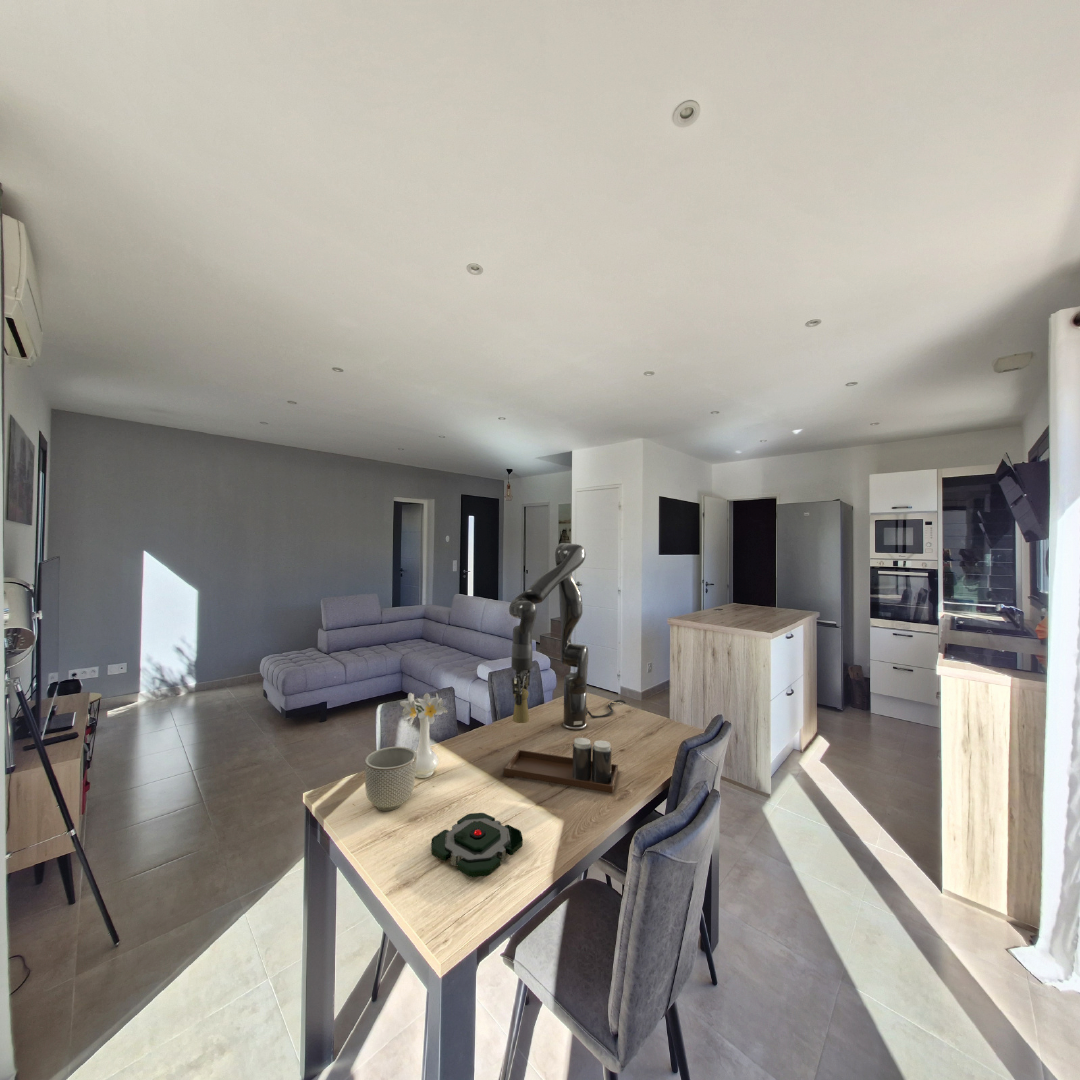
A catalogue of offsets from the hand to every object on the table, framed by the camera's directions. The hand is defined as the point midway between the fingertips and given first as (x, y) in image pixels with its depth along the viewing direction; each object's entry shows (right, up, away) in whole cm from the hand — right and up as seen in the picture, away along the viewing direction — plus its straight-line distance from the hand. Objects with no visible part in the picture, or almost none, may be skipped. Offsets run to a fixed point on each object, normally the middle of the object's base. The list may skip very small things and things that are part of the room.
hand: (521, 701), depth 163 cm
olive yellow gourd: (0, -7, 0) cm, 7 cm away
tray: (+14, -17, -18) cm, 28 cm away
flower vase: (-31, -16, -20) cm, 40 cm away
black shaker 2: (+26, -16, -22) cm, 38 cm away
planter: (-35, -15, -37) cm, 53 cm away
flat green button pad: (-8, -15, -56) cm, 58 cm away
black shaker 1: (+20, -16, -20) cm, 33 cm away
